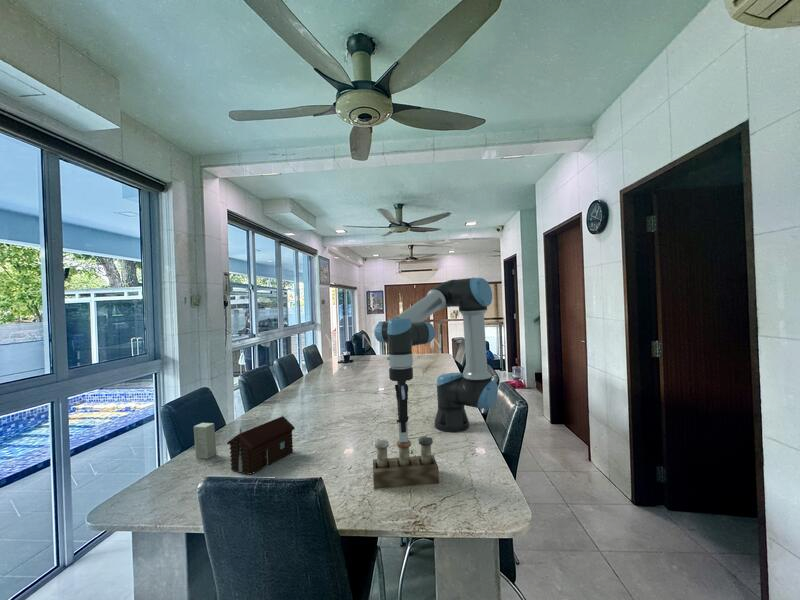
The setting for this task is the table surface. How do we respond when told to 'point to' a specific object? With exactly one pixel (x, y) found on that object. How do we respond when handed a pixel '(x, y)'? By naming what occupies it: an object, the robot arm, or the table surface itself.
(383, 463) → the plug cream
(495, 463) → the table surface
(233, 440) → the model building
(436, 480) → the socket block
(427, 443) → the plug charcoal
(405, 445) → the plug terracotta
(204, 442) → the skincare box
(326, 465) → the table surface
